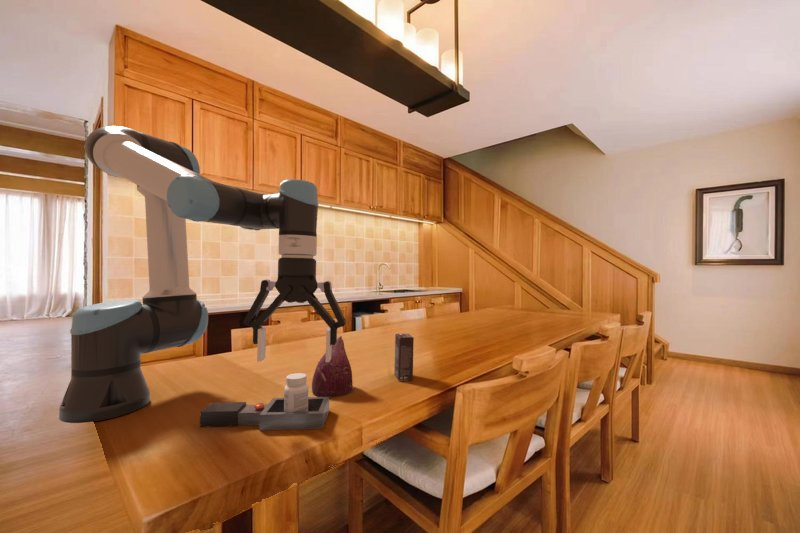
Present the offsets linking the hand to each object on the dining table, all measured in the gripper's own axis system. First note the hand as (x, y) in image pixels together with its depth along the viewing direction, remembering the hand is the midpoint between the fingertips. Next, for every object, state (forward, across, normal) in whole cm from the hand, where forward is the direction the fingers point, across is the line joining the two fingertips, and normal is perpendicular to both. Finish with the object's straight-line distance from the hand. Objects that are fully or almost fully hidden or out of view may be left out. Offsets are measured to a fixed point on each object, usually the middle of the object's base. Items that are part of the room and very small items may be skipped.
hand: (295, 360), depth 70 cm
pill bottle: (+12, +1, 0) cm, 12 cm away
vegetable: (+12, +6, +17) cm, 22 cm away
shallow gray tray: (+12, -5, 0) cm, 13 cm away
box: (+12, +25, +26) cm, 38 cm away
